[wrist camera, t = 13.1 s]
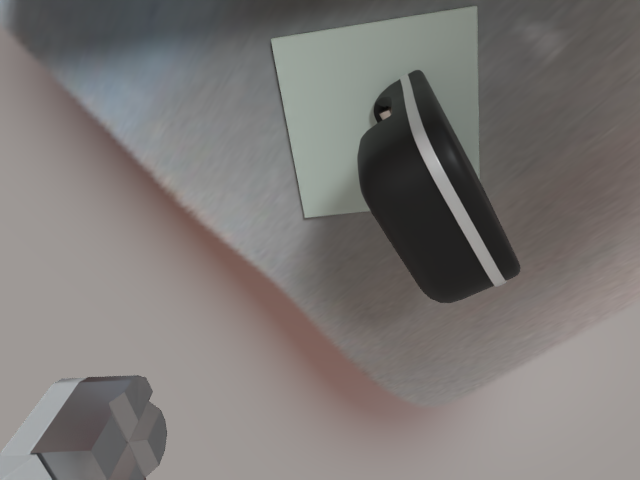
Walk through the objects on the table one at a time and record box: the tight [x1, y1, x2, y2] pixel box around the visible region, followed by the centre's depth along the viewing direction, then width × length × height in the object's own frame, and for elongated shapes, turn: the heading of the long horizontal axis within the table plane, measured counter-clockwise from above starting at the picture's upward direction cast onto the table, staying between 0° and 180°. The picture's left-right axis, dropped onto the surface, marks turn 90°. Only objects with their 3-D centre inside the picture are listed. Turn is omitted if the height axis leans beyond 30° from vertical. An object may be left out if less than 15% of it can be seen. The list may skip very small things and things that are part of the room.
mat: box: [271, 6, 480, 218], centre depth 27 cm, size 10×10×1 cm
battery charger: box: [357, 70, 520, 303], centre depth 22 cm, size 7×4×11 cm, turn 32°
